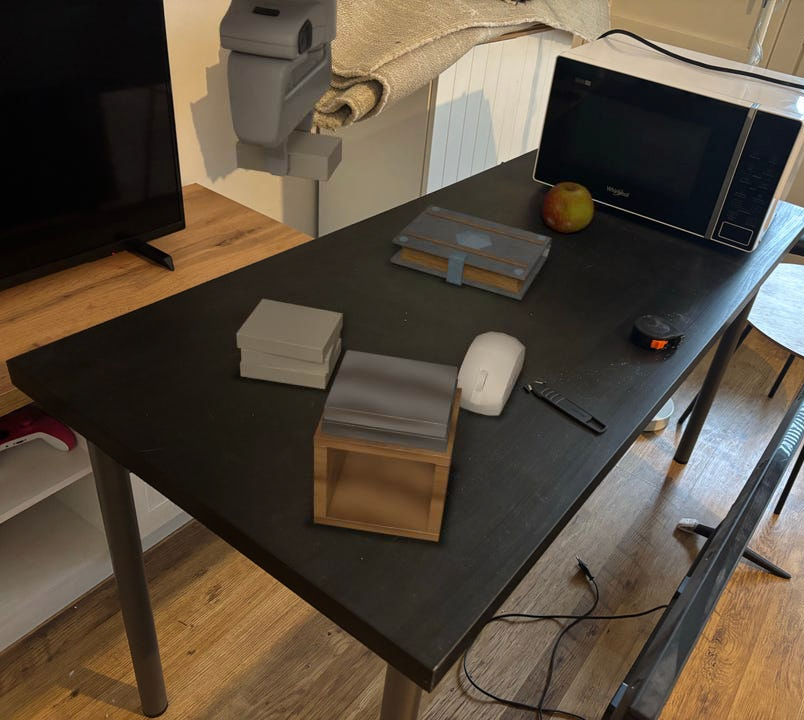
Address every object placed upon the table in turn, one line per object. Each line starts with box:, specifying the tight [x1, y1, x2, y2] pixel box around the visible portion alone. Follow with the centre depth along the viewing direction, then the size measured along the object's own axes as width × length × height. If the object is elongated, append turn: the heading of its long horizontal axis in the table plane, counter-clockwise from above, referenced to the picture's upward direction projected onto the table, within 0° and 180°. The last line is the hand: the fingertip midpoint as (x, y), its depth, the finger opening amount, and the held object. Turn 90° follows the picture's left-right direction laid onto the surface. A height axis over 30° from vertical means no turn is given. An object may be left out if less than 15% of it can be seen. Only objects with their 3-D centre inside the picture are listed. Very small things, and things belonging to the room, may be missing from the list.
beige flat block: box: [235, 130, 343, 183], centre depth 74 cm, size 6×9×2 cm, turn 85°
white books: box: [235, 298, 344, 390], centre depth 88 cm, size 9×10×6 cm
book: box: [389, 204, 552, 301], centre depth 115 cm, size 21×16×5 cm
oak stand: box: [313, 349, 462, 543], centre depth 70 cm, size 10×12×14 cm
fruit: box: [541, 181, 595, 234], centre depth 129 cm, size 10×9×8 cm
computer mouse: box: [456, 330, 526, 416], centre depth 90 cm, size 6×13×6 cm, turn 163°
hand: (290, 160), depth 75 cm, fingers closed on beige flat block, 6 cm apart
